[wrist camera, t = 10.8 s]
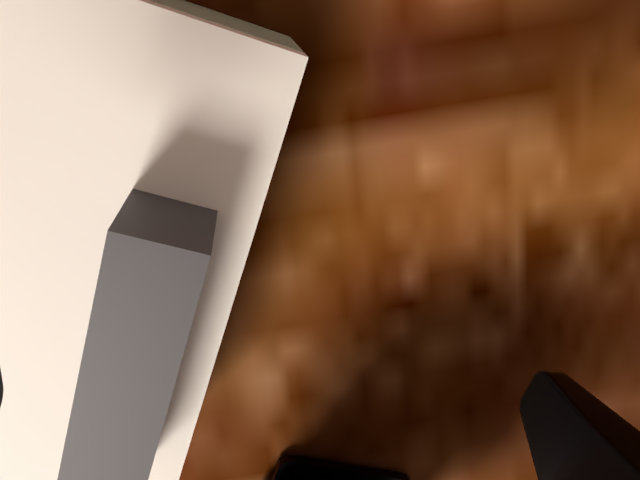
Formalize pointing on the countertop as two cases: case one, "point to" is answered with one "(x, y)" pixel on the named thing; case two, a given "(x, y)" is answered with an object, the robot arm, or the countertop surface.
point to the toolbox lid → (124, 224)
